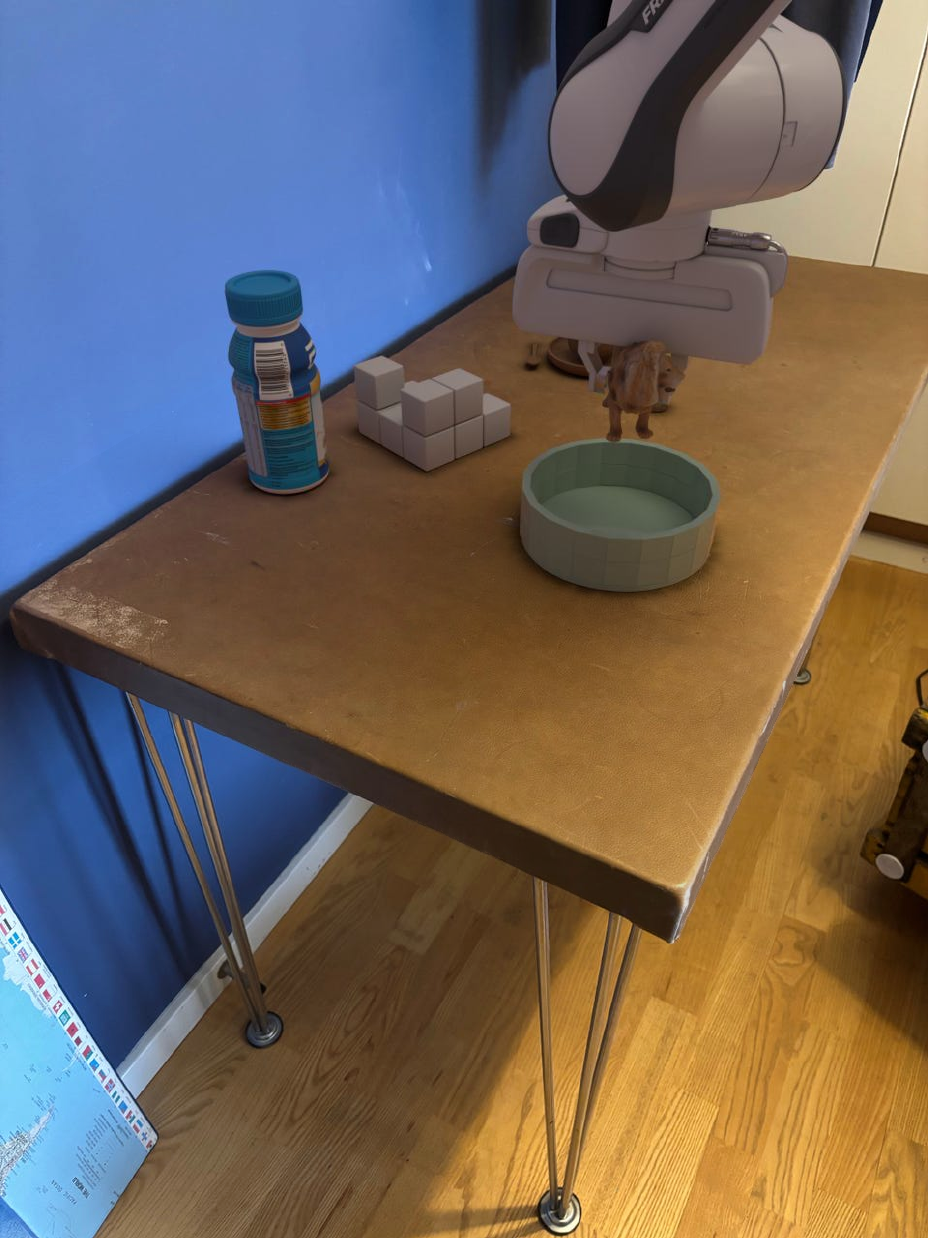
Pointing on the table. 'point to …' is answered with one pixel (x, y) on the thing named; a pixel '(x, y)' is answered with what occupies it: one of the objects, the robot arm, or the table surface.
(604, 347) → the place setting
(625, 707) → the table surface
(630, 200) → the robot arm
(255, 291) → the beverage bottle
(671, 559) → the bowl
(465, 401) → the puzzle cube
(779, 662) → the table surface
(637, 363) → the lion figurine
